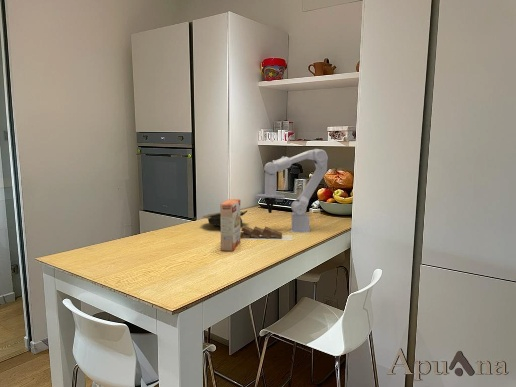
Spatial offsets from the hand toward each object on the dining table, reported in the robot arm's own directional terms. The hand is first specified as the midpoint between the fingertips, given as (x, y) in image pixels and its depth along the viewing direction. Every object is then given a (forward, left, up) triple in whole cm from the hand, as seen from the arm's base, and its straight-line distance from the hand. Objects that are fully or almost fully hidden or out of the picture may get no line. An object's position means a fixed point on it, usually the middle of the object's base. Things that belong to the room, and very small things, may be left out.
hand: (270, 212), depth 200 cm
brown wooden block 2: (+4, +12, -9) cm, 16 cm away
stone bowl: (+26, -12, -11) cm, 31 cm away
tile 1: (-6, +12, -9) cm, 16 cm away
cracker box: (+16, +27, -11) cm, 33 cm away
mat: (0, +12, -10) cm, 16 cm away
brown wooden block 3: (-1, +12, -9) cm, 15 cm away
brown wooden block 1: (+9, +12, -9) cm, 17 cm away
